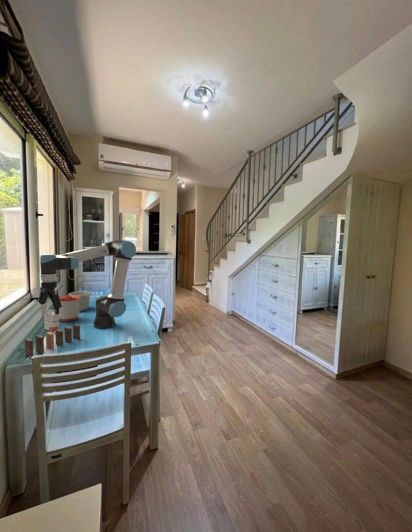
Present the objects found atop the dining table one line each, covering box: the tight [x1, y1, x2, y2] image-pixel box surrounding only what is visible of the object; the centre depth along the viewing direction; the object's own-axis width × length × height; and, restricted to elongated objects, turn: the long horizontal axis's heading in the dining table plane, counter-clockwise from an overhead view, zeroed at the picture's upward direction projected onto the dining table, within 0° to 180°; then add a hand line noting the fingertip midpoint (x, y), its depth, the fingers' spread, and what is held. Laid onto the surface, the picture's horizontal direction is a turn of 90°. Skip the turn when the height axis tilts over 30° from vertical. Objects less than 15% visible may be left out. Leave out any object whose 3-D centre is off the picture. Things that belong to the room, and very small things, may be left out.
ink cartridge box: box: [43, 308, 60, 332], centre depth 170 cm, size 9×5×15 cm, turn 69°
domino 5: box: [63, 326, 73, 344], centre depth 152 cm, size 2×5×9 cm, turn 62°
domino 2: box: [35, 334, 45, 354], centre depth 138 cm, size 2×5×9 cm, turn 62°
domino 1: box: [24, 338, 34, 357], centre depth 133 cm, size 2×5×9 cm, turn 62°
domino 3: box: [45, 331, 55, 350], centre depth 143 cm, size 2×5×9 cm, turn 62°
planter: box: [67, 290, 91, 312], centre depth 215 cm, size 17×17×15 cm
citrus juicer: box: [59, 294, 80, 322], centre depth 191 cm, size 16×17×20 cm
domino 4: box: [54, 328, 64, 347], centre depth 147 cm, size 2×5×9 cm, turn 62°
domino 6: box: [72, 323, 81, 340], centre depth 157 cm, size 2×5×9 cm, turn 62°
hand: (50, 317), depth 141 cm, fingers open, 13 cm apart
